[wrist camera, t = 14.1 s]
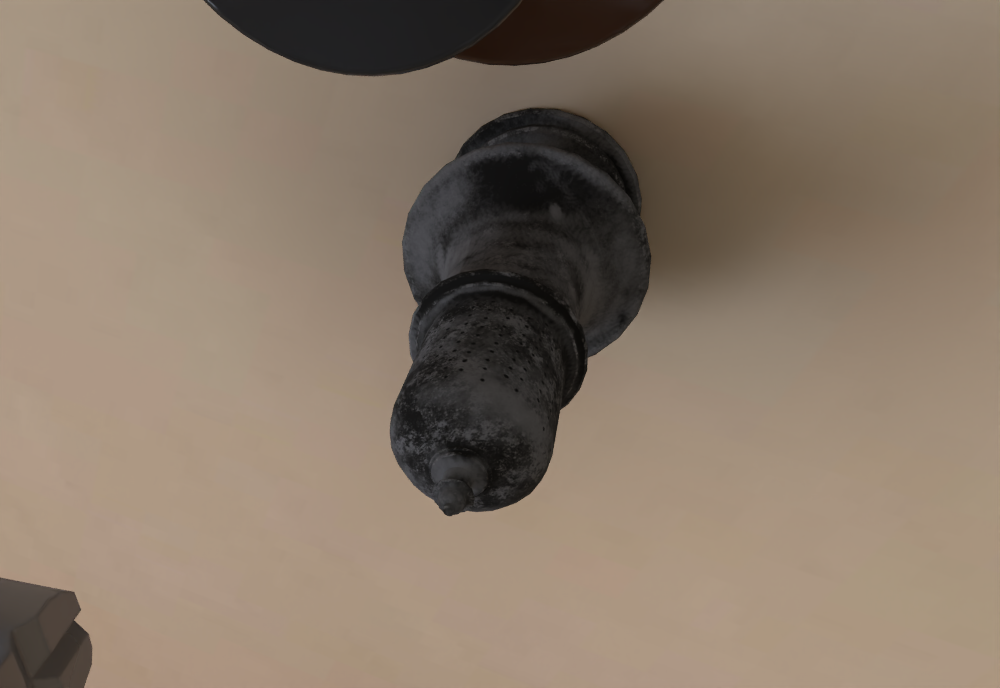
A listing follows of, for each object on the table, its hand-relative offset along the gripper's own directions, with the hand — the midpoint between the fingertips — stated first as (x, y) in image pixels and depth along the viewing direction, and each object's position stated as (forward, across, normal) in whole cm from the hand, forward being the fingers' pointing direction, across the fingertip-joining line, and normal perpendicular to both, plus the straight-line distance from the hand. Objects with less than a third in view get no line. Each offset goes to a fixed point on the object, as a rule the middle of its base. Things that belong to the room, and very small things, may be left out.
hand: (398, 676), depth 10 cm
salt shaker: (+15, 0, 0) cm, 15 cm away
